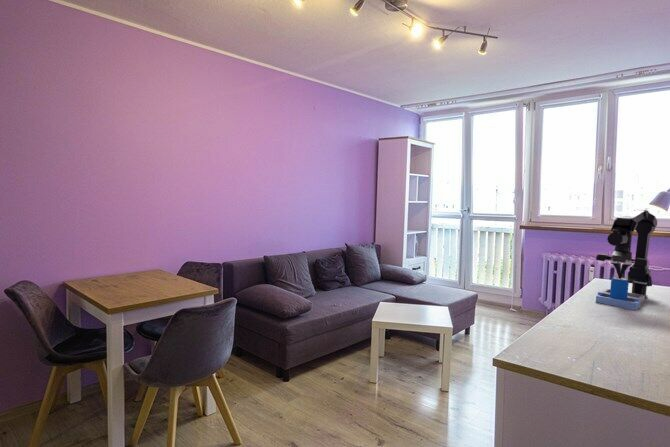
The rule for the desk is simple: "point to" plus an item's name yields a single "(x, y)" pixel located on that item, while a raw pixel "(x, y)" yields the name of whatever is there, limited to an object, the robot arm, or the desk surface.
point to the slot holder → (631, 302)
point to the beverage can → (619, 288)
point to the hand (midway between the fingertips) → (619, 278)
